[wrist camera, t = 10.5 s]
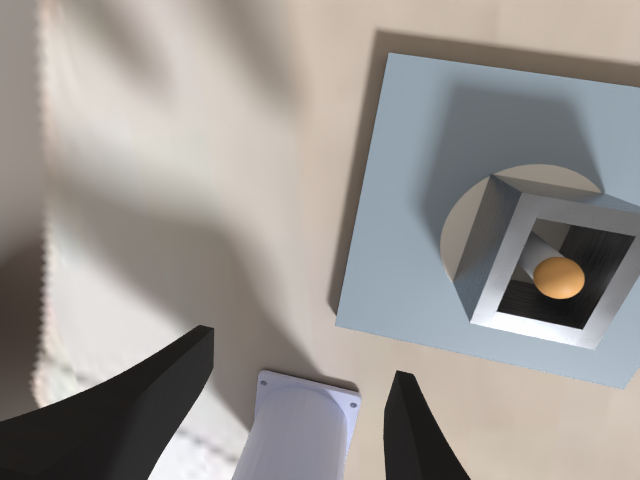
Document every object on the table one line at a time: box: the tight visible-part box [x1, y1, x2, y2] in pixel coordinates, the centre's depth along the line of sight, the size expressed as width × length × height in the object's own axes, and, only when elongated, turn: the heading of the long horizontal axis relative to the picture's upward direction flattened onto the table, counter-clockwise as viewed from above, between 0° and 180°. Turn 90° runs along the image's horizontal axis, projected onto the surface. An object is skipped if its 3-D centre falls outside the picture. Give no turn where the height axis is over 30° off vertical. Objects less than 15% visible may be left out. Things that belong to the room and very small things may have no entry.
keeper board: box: [335, 53, 640, 390], centre depth 16 cm, size 16×18×6 cm
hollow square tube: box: [453, 174, 640, 350], centre depth 16 cm, size 6×6×4 cm
